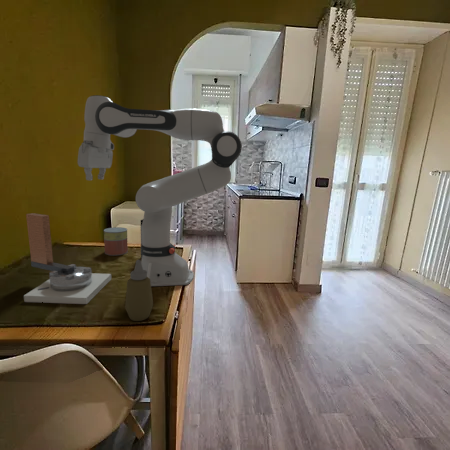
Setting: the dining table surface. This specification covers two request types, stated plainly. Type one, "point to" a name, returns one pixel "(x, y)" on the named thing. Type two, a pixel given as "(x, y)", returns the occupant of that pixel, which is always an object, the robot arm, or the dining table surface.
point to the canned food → (115, 241)
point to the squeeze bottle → (139, 294)
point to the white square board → (68, 292)
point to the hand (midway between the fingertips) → (95, 179)
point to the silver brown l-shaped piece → (42, 257)
